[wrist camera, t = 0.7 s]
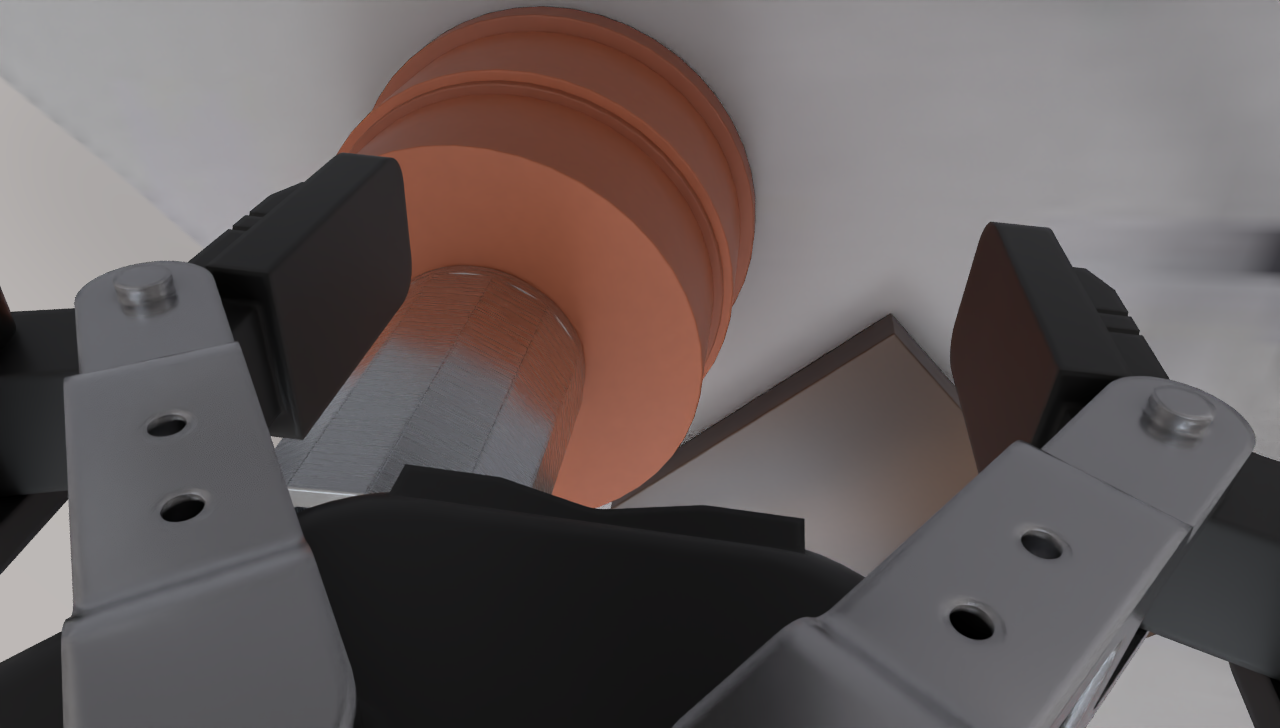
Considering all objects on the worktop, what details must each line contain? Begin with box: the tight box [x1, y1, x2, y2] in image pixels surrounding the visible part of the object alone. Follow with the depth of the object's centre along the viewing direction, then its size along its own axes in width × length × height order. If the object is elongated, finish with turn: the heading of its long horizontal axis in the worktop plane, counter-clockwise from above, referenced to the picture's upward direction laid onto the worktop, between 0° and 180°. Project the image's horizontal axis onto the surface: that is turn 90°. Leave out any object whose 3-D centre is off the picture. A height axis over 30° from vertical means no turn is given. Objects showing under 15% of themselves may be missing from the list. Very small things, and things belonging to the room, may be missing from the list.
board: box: [611, 314, 1156, 638], centre depth 40 cm, size 20×15×2 cm
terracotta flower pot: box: [337, 6, 755, 508], centre depth 29 cm, size 15×15×10 cm
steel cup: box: [275, 265, 585, 513], centre depth 22 cm, size 6×6×9 cm
